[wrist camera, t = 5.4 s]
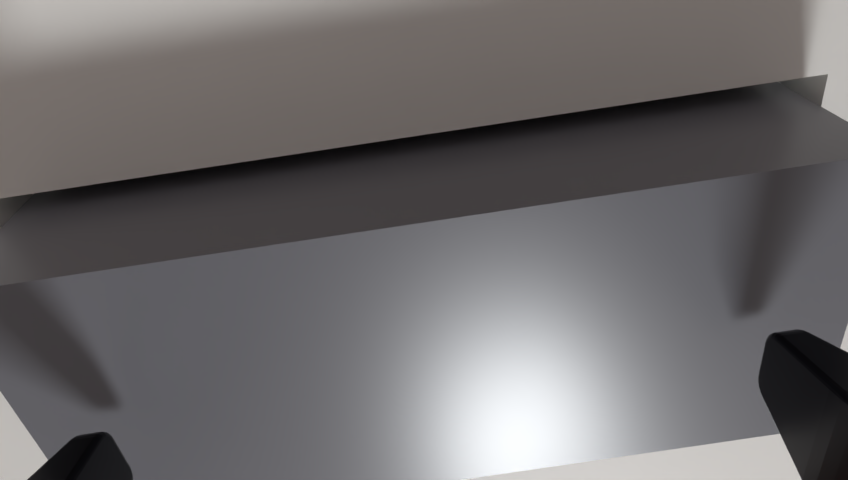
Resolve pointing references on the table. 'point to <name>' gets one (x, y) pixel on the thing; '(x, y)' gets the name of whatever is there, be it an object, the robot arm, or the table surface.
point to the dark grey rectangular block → (435, 295)
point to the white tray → (376, 104)
